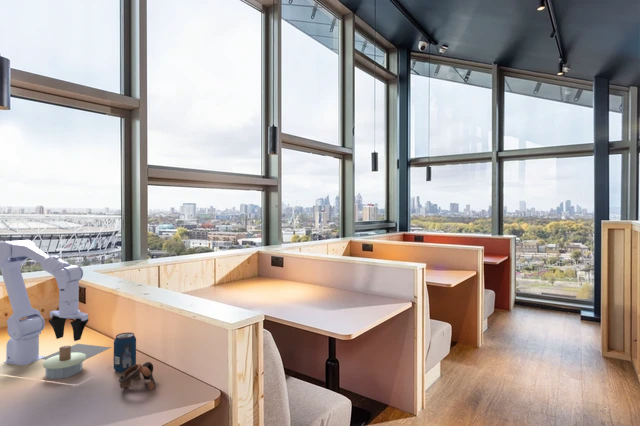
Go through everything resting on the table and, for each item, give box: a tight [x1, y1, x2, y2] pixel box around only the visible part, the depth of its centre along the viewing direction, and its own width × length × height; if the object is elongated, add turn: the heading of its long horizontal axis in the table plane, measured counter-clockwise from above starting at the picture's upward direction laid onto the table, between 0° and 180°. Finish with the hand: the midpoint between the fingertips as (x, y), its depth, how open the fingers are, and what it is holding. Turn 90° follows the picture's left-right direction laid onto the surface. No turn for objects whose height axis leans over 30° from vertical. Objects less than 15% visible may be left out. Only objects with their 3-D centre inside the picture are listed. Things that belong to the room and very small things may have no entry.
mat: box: [40, 343, 112, 361], centre depth 144 cm, size 16×16×1 cm
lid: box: [42, 345, 87, 369], centre depth 128 cm, size 12×12×5 cm
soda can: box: [113, 332, 137, 374], centre depth 132 cm, size 7×7×12 cm
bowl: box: [44, 362, 83, 380], centre depth 128 cm, size 10×10×4 cm
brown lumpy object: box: [117, 361, 156, 391], centre depth 119 cm, size 12×10×8 cm
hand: (68, 338), depth 133 cm, fingers open, 7 cm apart
